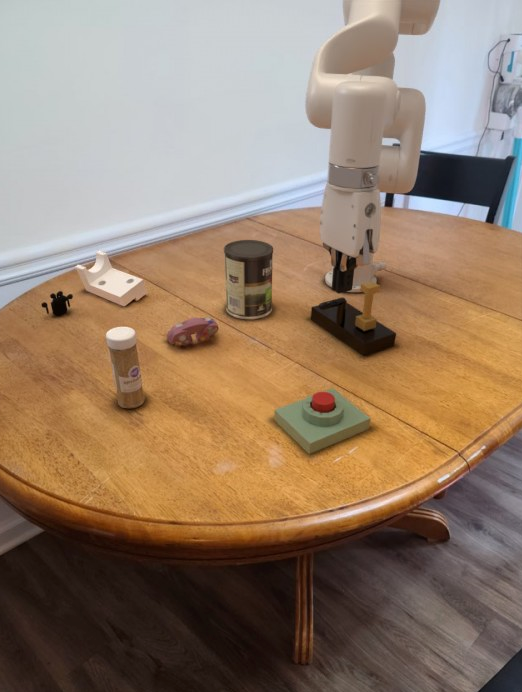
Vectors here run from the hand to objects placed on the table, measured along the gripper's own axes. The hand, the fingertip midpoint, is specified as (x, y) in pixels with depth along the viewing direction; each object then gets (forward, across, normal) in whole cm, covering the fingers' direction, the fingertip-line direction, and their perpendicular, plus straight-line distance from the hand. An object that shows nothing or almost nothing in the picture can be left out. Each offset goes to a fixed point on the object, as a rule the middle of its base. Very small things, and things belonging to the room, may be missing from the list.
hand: (341, 290), depth 95 cm
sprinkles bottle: (+18, +12, +35) cm, 40 cm away
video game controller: (+17, +24, +17) cm, 34 cm away
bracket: (+17, +53, +23) cm, 60 cm away
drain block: (+17, -11, +11) cm, 23 cm away
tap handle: (+13, +7, -13) cm, 20 cm away
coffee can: (+17, +31, 0) cm, 36 cm away
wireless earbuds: (+17, +50, +36) cm, 63 cm away
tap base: (+17, +11, -11) cm, 23 cm away
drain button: (+14, -11, +11) cm, 20 cm away
